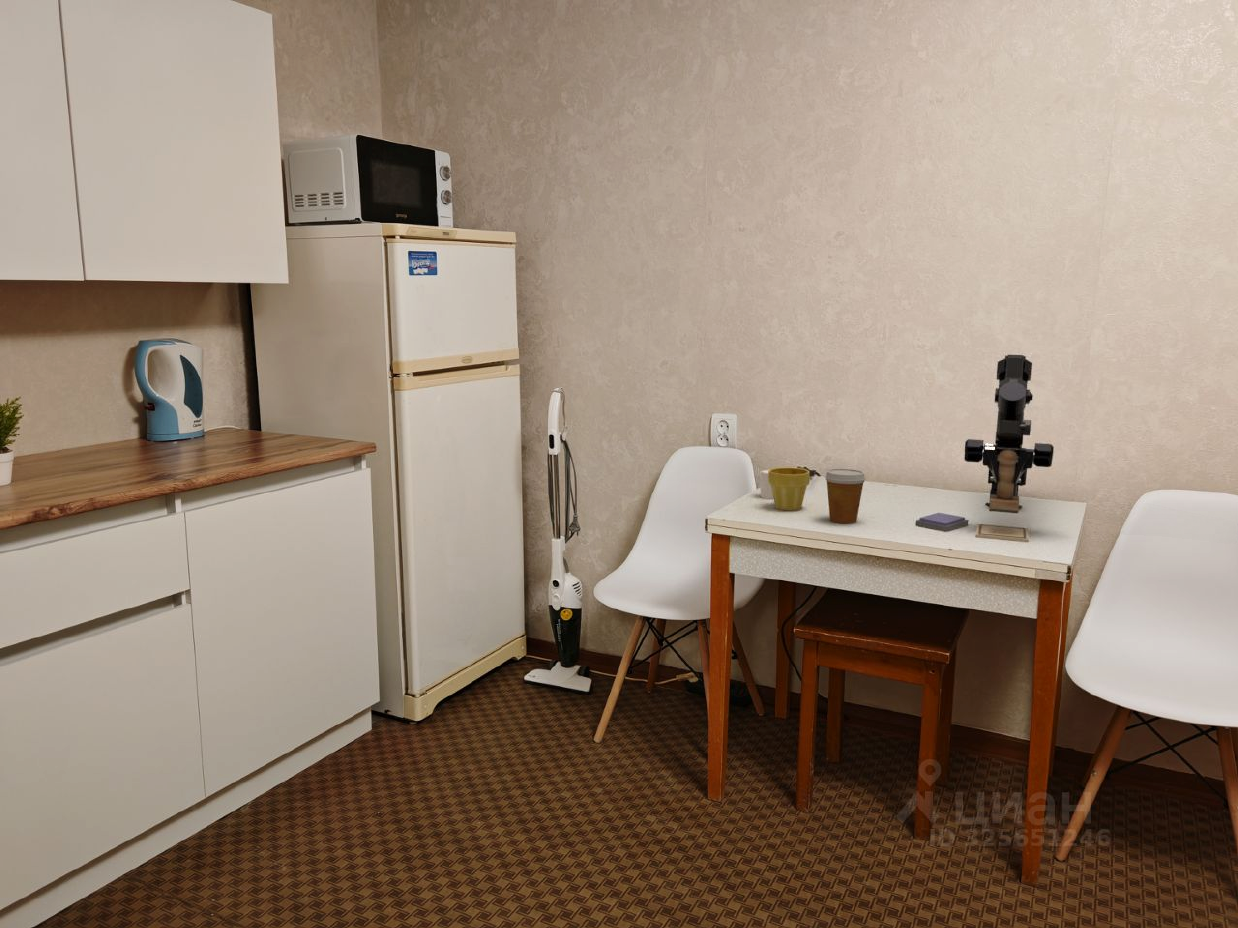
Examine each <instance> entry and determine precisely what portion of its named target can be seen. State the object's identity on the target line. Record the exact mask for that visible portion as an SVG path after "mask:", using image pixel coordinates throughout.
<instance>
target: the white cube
mask: <svg viewBox="0 0 1238 928" xmlns="http://www.w3.org/2000/svg"><path fill="white" fill-rule="evenodd" d="M769 470H770V469H763V470H762V469H761V470H760V471H759V489H760V497H761V498H762V499H767V500H774V498H773V493H772V488H771V484H769V480H768V472H769Z"/></svg>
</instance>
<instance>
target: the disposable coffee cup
mask: <svg viewBox="0 0 1238 928" xmlns="http://www.w3.org/2000/svg"><path fill="white" fill-rule="evenodd" d="M824 478H825V481H826V488H827V502H828V513H829V514H828V515H829V521H830V522H833V523H836V524H847V525H848V524H854V523H856V522H857V519H858V514H859V510H860V509H859V507H860V503H861V498H862V492H863V486H864V483H865V480H866V476H865V473H864V471H861V470H858V469H854V468H853V469H851V468H832V469H831V468H830V469H828V470H827V471H826V474H825V475H824Z"/></svg>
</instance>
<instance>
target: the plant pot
mask: <svg viewBox="0 0 1238 928" xmlns="http://www.w3.org/2000/svg"><path fill="white" fill-rule="evenodd" d="M768 470H769V472H768V480H769V484H771V488H772V493H773V498H774V499H773V503H774V504H773V505H774V508H775V509H777V510H780V511H788V512H789V511H799V510H800V509H802V507H803V504H804V503H803V502H804V498H805V495H806V490H807V486H809V485H810V480H811V479H810V475H811V473H810V470H809V469H806V468H803V467H794V466H793V467H792V466H791V467H789V466H787V467H785V466H783V467H774V468H770V469H768Z"/></svg>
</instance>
